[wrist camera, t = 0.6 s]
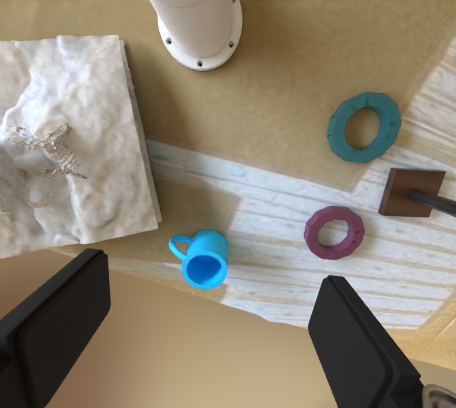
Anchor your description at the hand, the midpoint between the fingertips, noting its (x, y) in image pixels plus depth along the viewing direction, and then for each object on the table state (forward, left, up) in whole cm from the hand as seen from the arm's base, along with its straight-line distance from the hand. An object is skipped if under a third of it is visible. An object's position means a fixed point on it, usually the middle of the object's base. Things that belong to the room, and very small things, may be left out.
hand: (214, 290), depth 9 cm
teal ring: (-8, +23, -33) cm, 41 cm away
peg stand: (+3, +35, -33) cm, 48 cm away
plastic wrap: (-2, -31, -33) cm, 45 cm away
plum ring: (+12, +22, -33) cm, 41 cm away
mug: (+16, -5, -33) cm, 37 cm away
